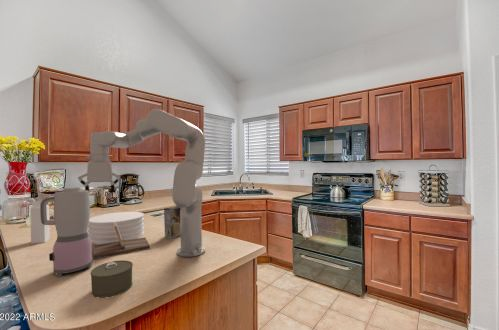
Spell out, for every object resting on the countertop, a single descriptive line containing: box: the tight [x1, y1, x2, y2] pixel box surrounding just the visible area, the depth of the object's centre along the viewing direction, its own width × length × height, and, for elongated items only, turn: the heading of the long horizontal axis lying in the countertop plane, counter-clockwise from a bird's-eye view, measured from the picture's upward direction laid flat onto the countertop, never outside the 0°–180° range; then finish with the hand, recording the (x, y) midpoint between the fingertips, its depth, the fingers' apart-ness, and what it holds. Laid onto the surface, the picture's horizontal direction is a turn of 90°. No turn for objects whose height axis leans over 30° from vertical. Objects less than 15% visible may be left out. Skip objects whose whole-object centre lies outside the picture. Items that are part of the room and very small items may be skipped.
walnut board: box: [92, 236, 151, 260], centre depth 115 cm, size 16×23×3 cm
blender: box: [40, 186, 93, 277], centre depth 92 cm, size 16×12×32 cm
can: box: [90, 259, 134, 299], centre depth 78 cm, size 12×12×7 cm
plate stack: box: [87, 211, 145, 245], centre depth 136 cm, size 28×28×12 cm
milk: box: [29, 200, 51, 245], centre depth 128 cm, size 6×6×22 cm
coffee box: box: [163, 205, 181, 239], centre depth 136 cm, size 9×6×16 cm
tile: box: [114, 222, 124, 246], centre depth 115 cm, size 10×11×1 cm
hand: (100, 193), depth 113 cm, fingers open, 9 cm apart
